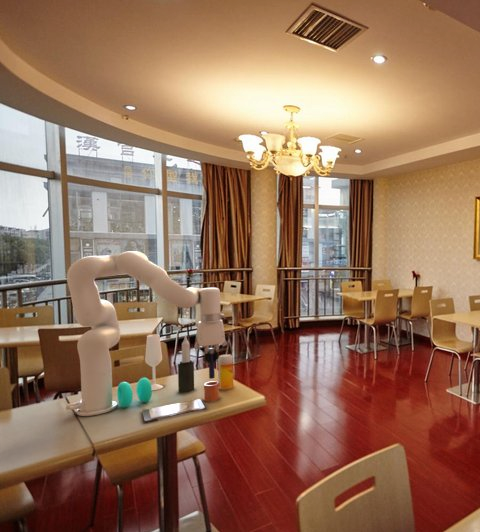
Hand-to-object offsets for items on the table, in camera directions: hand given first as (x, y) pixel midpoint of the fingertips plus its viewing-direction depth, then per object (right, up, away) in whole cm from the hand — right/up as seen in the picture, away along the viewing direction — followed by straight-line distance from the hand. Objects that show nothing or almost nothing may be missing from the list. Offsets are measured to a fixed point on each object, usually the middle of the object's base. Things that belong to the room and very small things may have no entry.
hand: (211, 361), depth 162 cm
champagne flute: (-33, -16, +15) cm, 40 cm away
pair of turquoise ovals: (-29, -17, -5) cm, 33 cm away
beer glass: (0, -16, +14) cm, 21 cm away
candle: (-16, -16, +10) cm, 25 cm away
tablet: (-9, -17, -11) cm, 22 cm away
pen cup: (0, -16, 0) cm, 16 cm away
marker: (0, -7, 0) cm, 7 cm away
